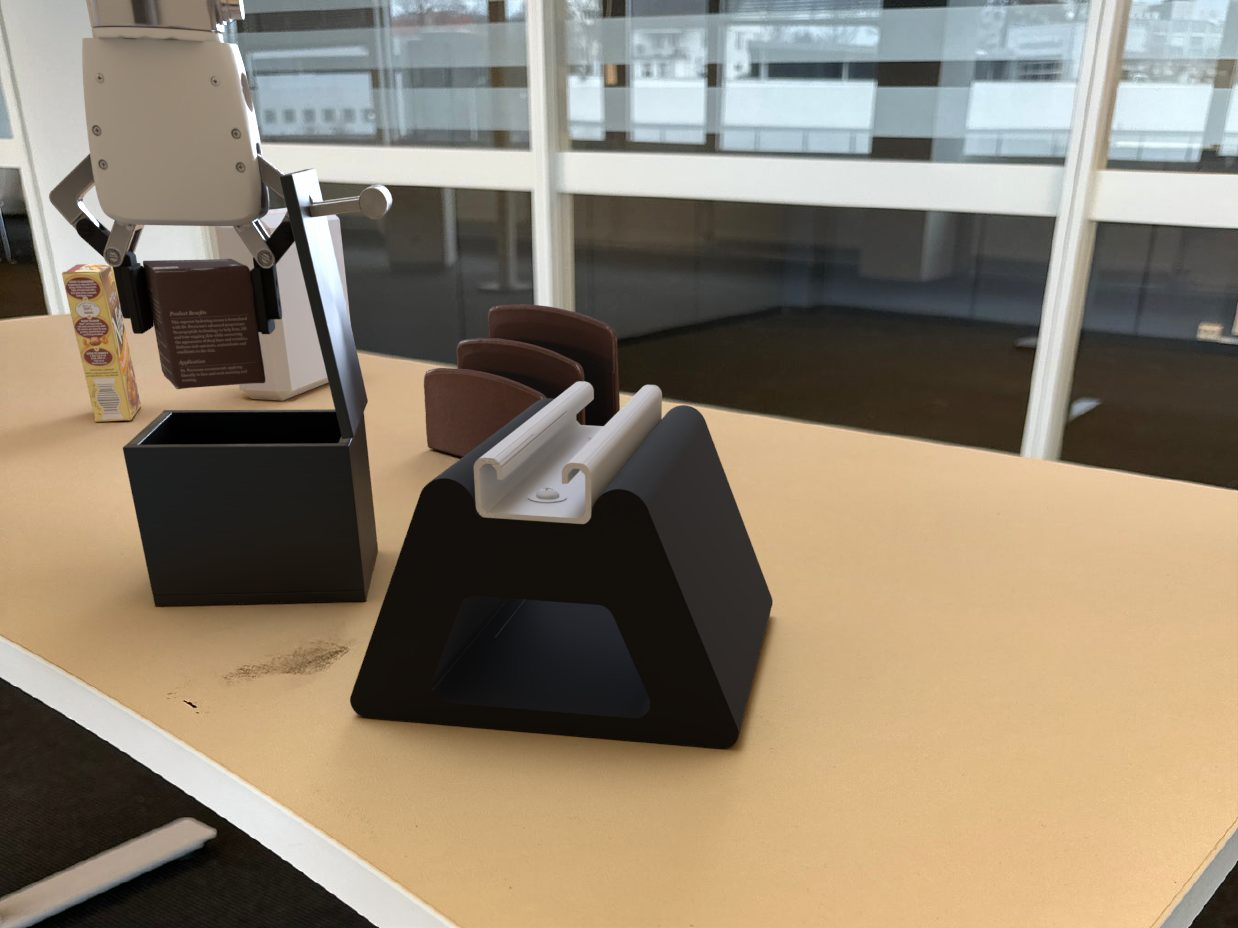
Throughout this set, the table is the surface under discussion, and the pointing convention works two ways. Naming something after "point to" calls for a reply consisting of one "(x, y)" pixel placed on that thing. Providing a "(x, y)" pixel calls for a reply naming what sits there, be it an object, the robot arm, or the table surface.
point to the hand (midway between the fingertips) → (205, 329)
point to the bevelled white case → (286, 316)
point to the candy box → (102, 341)
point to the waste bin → (253, 507)
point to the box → (205, 322)
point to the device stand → (575, 585)
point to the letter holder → (520, 374)
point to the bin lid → (330, 284)
